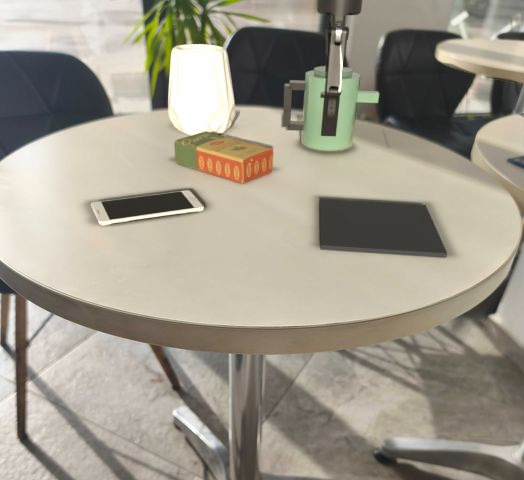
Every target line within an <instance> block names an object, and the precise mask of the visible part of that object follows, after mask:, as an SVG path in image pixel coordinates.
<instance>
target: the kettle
mask: <svg viewBox="0 0 524 480" xmlns="http://www.w3.org/2000/svg"><path fill="white" fill-rule="evenodd" d="M327 68H328V66H326V65H320V66H316V67H314V68H313V70H309V71H306V72H305V74H304V80H299V79H298V80H297V79H290V80H289V83H284V86H283V88H284V89H283V111H282V114H283V115H282V127H284V128H285V127H286V128H287V131H299V132H300V131H301V135H300V136H301V137H300V138H301V139H300V142H301V144H302V145H303V146H304V147H306V148H310V149H314V150H318V151H329V152H331V151H343V150H347V149H349V148H351V147H352V146H353V142H354V141H353V140H354V134H355V133H354V131H355V125H356V116H357V108H358V103H366V104H379V100H380V99H379V98H380V92H379V90H360V85H361V74H360V73H359V72H354V69H353V68H350V67H346V66H343V72H342V83H341V90H342V92H341V95H340V101H339V111H338V120H337V130H336V137H334V136H321V130H322V119H323V107H324V97H321V93H322V92H325V91H326V82H327ZM330 88H336V87H330ZM293 91H303V107H302V120H291V119H292V101H293Z"/></svg>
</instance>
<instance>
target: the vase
mask: <svg viewBox="0 0 524 480" xmlns="http://www.w3.org/2000/svg"><path fill="white" fill-rule="evenodd" d="M169 60H170V63H169V75H168V76H169V77H168V91H167V92H168V93H167V94H168V96H167V114H168V118H169V119H170V121H171V125H173V127H174V128H175V129H176V130H177V131H178V132H181V133H183V134H184V135H187V136H191V135H195V134H198V133H201V132H204V131H207V132H210V133H213V134H217V135H222V134H224V133H225V132H226V131H227V130H228V129H230V127H231V126H232V124H233V122H234V119H235V117H236V101H235V95H234V88H233V81H232V80H233V79H232V74H231V68H230V67H231V66H230V60H229V55H228V51H227V50H226V48H225V47H222V46H220V45H214V44H205V43H197V44H196V43H195V44H193V43H190V44H180V45H175V46H174V47H173V48H172V49H171V52H170V59H169Z"/></svg>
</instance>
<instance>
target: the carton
mask: <svg viewBox="0 0 524 480" xmlns="http://www.w3.org/2000/svg"><path fill="white" fill-rule="evenodd" d="M173 149H174V158H175V163H176V164H177V165H181V166H183V167H186V168H187V167H188V168H191V169H194V170H196V171H200V172H204V173H207V174H210V175H212V176H217V177H220V178H223V179H226V180H229V181H232V182H237V183H238V184H239V183H240V184H245V183H247V182H250V181H253V180H255V179H258V178H261V177H263V176H266V175H269V174H270V173H272V172H273V170H274V169H273V168H274V148H272V147H269V146H265V145H262V144H257V143H253V142H249V141H245V140H241V139H237V138H233V137H230V136H226V135H222V134H218V135H217V134H213V133H210V132H207V131H204V132H201V133H198V134H195V135H187V136H185V137H182V138H179V139H176V140H174V142H173Z"/></svg>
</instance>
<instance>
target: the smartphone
mask: <svg viewBox="0 0 524 480" xmlns="http://www.w3.org/2000/svg"><path fill="white" fill-rule="evenodd" d="M90 207H91V209H92V210H93V213H94V215H95V218H96V220H97V222H98V224H99V225H100V226H110V225H116V224H124V223H131V222H137V221H145V220H151V219H159V218H165V217H173V216H179V215H185V214H193V213H199V212H203V211H204V210H205V206H204V205H203V203H201V202H200V200H199V199H198V198H197V197H196V196H195V195H194V193H193V192H192V191H191V190H189V189H187V190H178V191H177V190H176V191H170V192H162V193H154V194H146V195H139V196H131V197H124V198H115V199H107V200H99V201H93V202H91V204H90Z"/></svg>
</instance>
